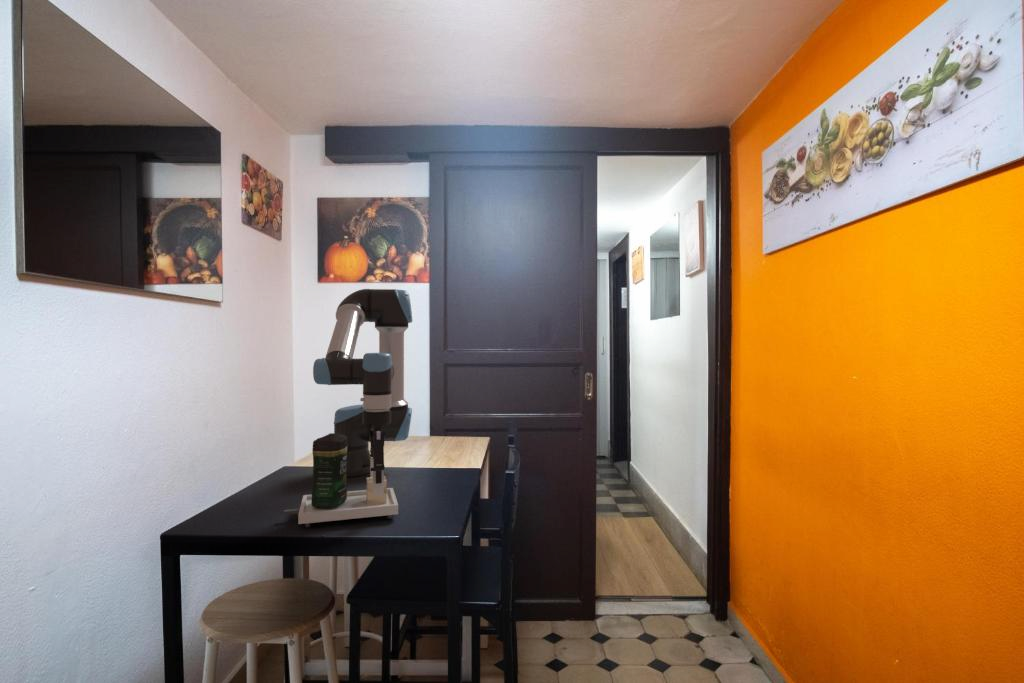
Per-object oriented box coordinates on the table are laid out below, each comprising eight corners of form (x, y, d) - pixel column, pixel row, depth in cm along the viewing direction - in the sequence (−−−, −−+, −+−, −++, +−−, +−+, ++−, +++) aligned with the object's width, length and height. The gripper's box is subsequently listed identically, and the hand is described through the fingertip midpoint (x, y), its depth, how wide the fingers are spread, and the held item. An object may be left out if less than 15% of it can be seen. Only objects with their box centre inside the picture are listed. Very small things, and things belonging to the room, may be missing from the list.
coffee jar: (337, 510, 130) (337, 438, 130) (307, 509, 130) (307, 437, 130) (351, 498, 139) (351, 431, 139) (323, 498, 140) (323, 431, 140)
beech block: (366, 499, 139) (366, 477, 139) (385, 497, 140) (385, 476, 140) (367, 505, 134) (367, 482, 134) (386, 503, 136) (386, 480, 136)
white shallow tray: (287, 511, 138) (287, 496, 138) (392, 501, 146) (392, 487, 146) (280, 532, 123) (280, 516, 123) (398, 520, 131) (398, 504, 131)
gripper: (361, 404, 148) (361, 476, 148) (364, 417, 124) (363, 503, 124) (387, 403, 150) (387, 474, 151) (395, 416, 127) (395, 500, 127)
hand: (376, 487), depth 137 cm, fingers open, 13 cm apart
